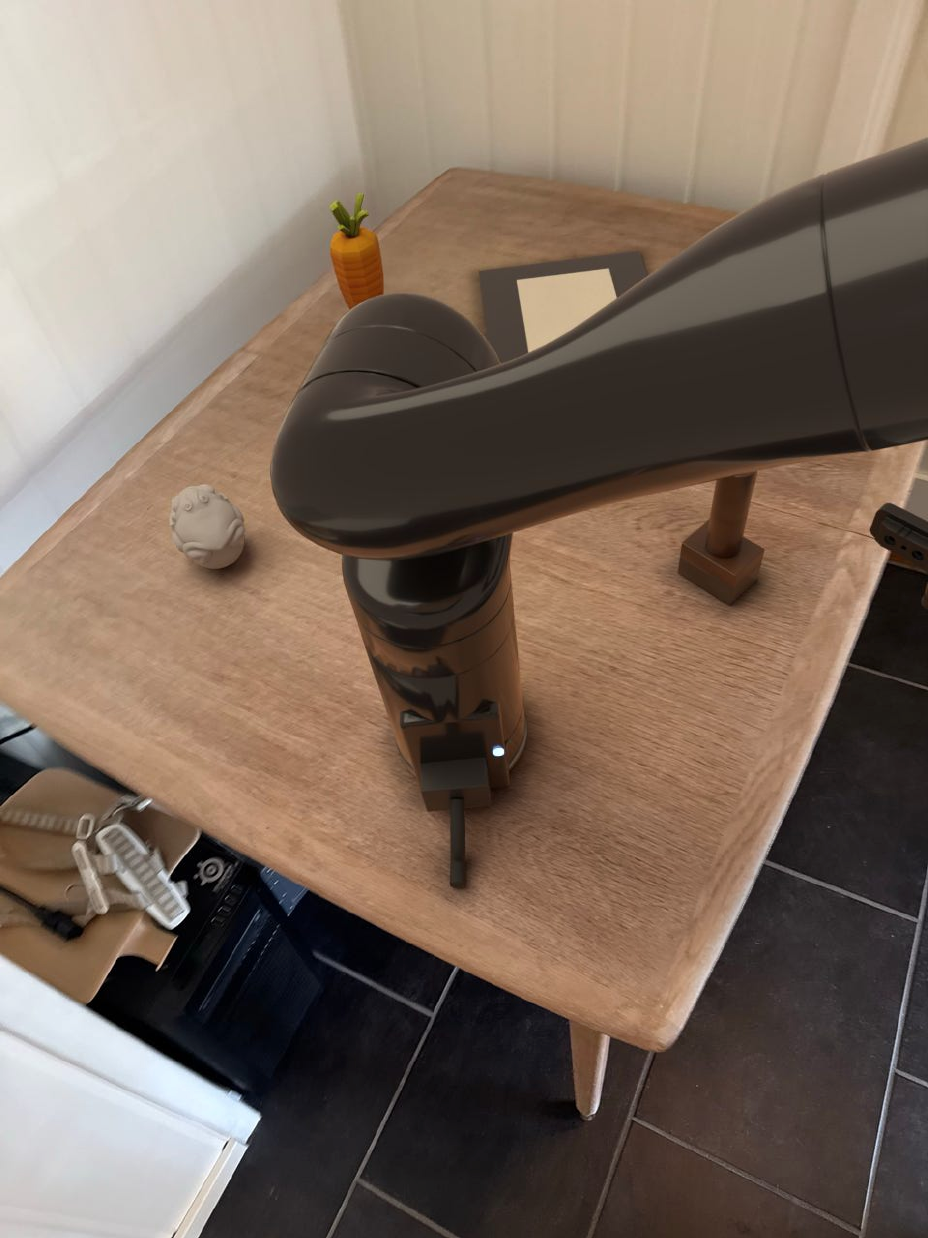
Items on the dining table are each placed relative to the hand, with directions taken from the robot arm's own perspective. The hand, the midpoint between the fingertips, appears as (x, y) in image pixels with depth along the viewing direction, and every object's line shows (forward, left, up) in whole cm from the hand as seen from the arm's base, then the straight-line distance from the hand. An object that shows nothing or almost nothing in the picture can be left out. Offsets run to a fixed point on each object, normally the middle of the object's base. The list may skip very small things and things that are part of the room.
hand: (918, 476), depth 50 cm
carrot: (+47, +35, -18) cm, 61 cm away
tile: (+45, +14, -18) cm, 50 cm away
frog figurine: (+17, +48, -18) cm, 54 cm away
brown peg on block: (+9, +7, -18) cm, 21 cm away
